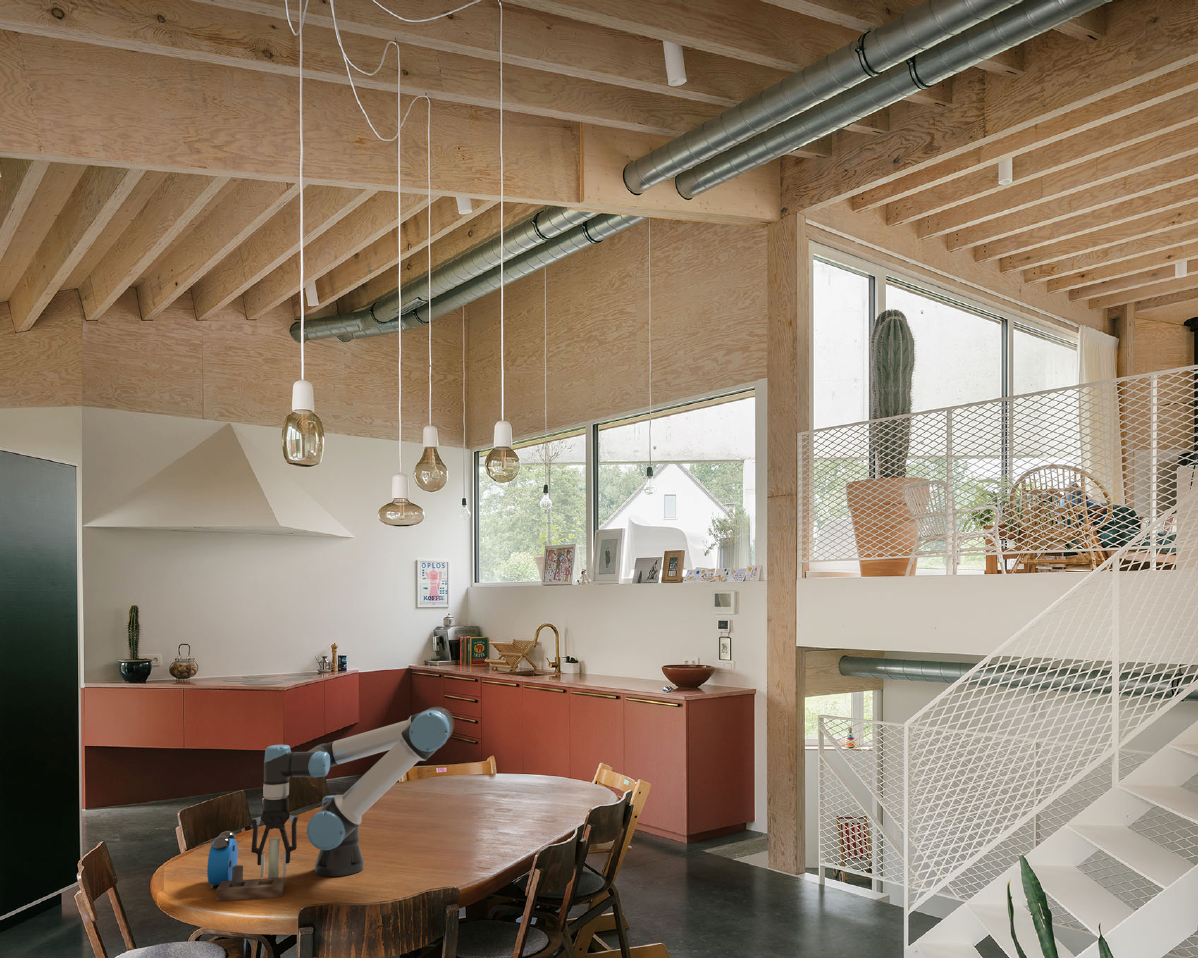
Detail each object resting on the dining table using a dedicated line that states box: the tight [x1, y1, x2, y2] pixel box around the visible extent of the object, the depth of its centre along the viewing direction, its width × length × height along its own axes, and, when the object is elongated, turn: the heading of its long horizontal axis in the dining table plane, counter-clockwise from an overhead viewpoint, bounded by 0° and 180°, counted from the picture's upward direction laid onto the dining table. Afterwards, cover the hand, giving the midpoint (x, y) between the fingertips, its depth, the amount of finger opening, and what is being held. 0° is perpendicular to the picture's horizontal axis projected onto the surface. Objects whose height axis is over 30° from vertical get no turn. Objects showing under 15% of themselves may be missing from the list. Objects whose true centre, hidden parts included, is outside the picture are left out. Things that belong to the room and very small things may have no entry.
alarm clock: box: [206, 830, 239, 889], centre depth 291 cm, size 13×6×15 cm, turn 8°
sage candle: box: [267, 837, 281, 878], centre depth 292 cm, size 3×3×13 cm
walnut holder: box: [215, 864, 286, 902], centre depth 281 cm, size 18×9×8 cm, turn 102°
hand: (273, 874), depth 291 cm, fingers open, 6 cm apart
